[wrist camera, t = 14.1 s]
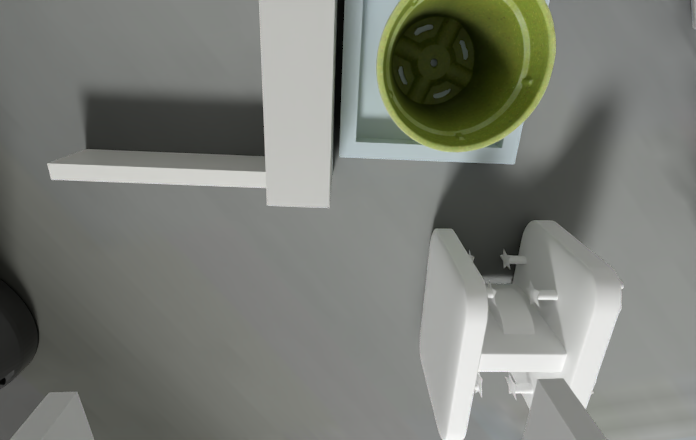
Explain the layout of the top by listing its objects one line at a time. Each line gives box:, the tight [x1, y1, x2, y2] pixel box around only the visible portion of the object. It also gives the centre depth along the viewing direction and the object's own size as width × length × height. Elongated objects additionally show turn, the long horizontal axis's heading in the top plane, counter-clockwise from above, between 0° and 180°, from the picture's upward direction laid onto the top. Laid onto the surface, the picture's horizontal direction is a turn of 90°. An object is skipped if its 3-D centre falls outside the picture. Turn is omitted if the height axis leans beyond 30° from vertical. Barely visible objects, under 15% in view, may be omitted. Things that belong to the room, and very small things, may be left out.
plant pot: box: [376, 0, 556, 152], centre depth 25 cm, size 9×9×9 cm
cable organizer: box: [420, 220, 624, 440], centre depth 32 cm, size 15×11×12 cm
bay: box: [47, 0, 338, 208], centre depth 26 cm, size 20×14×8 cm
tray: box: [339, 0, 550, 164], centre depth 28 cm, size 13×13×2 cm
